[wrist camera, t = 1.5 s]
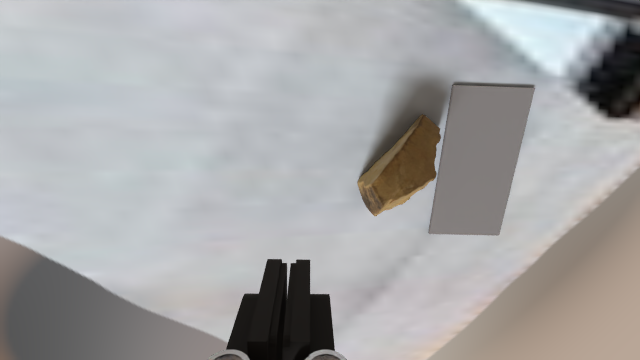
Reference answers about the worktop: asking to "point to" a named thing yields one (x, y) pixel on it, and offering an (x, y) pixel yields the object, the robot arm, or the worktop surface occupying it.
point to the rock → (402, 168)
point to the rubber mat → (479, 158)
